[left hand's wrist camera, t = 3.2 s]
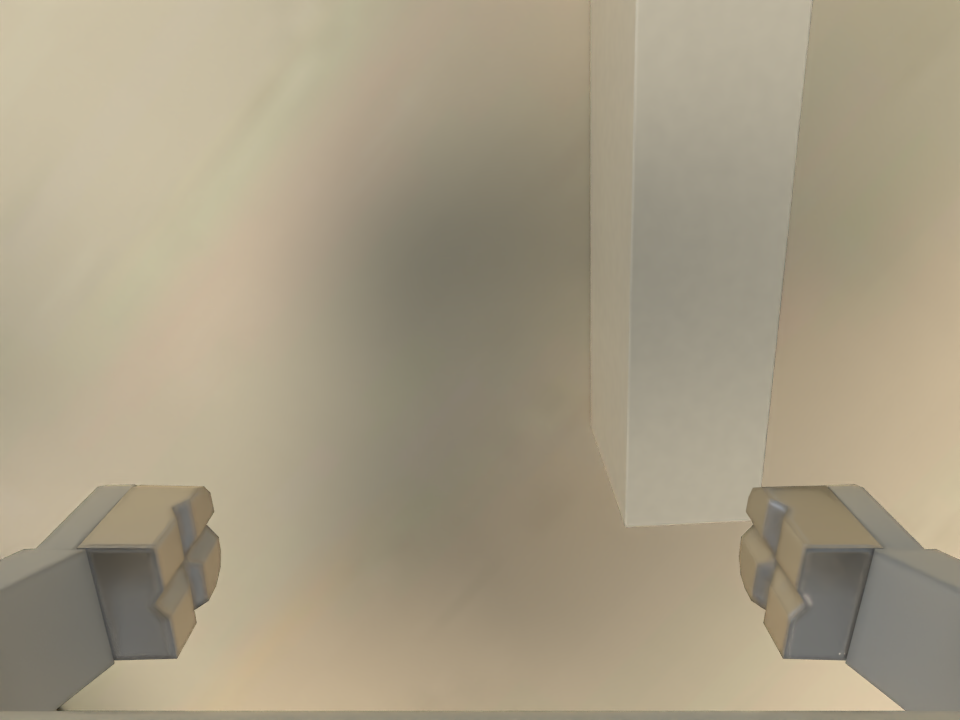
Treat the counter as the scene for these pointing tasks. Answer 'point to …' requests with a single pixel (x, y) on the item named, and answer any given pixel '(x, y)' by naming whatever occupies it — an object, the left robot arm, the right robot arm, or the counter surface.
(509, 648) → the counter surface
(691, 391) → the post
